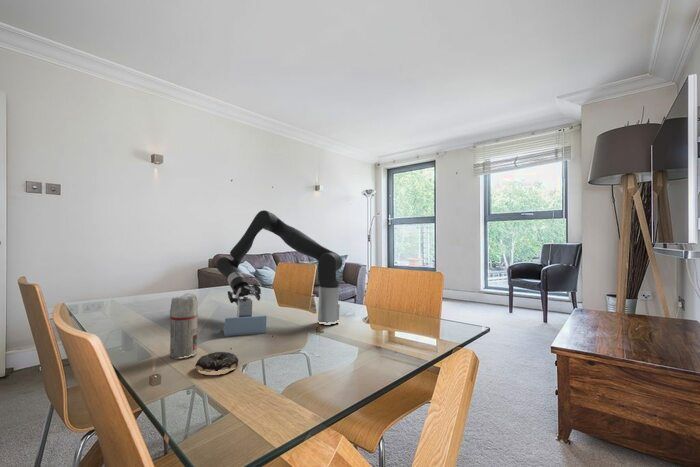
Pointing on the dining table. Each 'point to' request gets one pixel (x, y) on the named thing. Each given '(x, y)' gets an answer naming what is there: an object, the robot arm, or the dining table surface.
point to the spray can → (183, 325)
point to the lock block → (244, 307)
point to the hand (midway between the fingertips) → (250, 302)
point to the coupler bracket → (245, 325)
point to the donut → (217, 362)
